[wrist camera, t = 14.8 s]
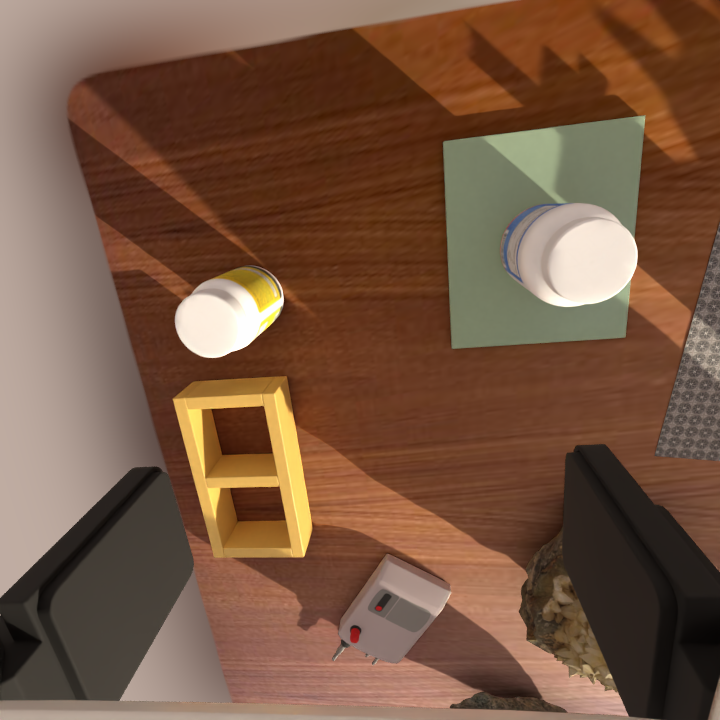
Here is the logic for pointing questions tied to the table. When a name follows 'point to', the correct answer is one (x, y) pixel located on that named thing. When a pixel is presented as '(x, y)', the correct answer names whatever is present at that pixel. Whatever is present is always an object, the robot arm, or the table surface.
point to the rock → (506, 703)
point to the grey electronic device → (392, 610)
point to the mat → (511, 197)
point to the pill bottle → (569, 253)
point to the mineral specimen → (560, 616)
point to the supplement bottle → (229, 311)
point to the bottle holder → (246, 467)
